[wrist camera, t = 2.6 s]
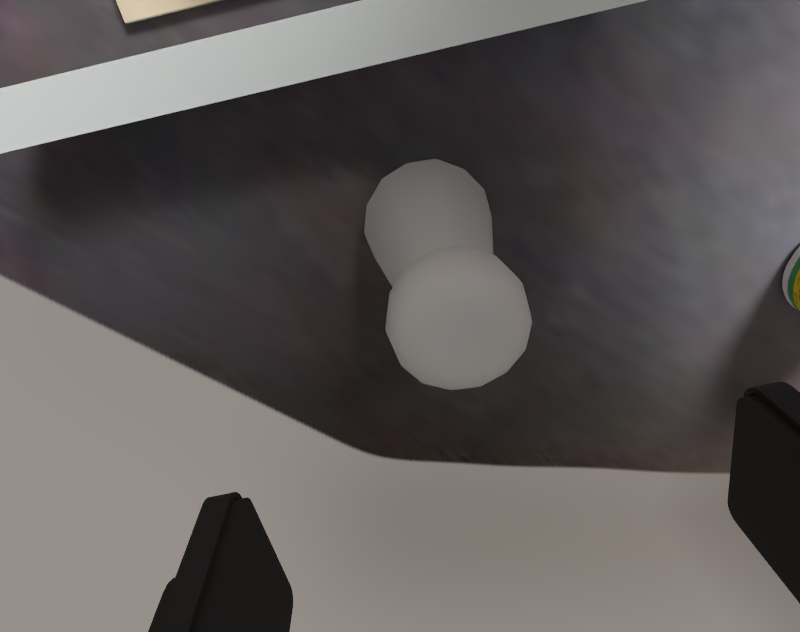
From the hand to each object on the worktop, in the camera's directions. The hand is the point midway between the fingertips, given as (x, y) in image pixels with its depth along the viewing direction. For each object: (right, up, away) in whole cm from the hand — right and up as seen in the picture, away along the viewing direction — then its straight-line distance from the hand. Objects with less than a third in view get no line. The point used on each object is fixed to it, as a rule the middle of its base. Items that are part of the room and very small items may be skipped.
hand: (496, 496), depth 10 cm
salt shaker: (-1, +9, +16) cm, 19 cm away
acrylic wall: (-5, +15, +13) cm, 20 cm away
